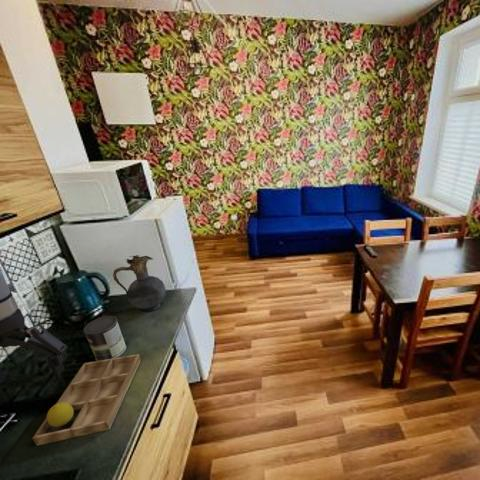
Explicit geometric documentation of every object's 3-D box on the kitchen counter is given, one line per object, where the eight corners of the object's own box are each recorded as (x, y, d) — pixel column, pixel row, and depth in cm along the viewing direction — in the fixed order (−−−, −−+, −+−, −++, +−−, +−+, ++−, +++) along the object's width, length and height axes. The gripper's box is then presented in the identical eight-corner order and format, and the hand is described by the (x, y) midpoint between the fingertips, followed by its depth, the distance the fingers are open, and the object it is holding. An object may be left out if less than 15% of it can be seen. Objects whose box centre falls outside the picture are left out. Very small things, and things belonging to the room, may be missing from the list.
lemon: (76, 425, 80) (66, 407, 77) (51, 436, 77) (40, 418, 74) (78, 410, 84) (69, 393, 81) (55, 420, 81) (44, 402, 78)
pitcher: (167, 310, 132) (153, 256, 121) (122, 319, 126) (102, 263, 114) (170, 298, 142) (157, 247, 130) (128, 306, 135) (110, 253, 124)
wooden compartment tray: (36, 445, 76) (32, 438, 75) (86, 369, 100) (83, 363, 98) (109, 429, 80) (106, 422, 79) (140, 360, 104) (138, 353, 103)
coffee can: (96, 366, 101) (84, 338, 96) (94, 351, 108) (82, 323, 102) (128, 352, 107) (118, 324, 102) (124, 338, 114) (114, 312, 109)
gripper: (66, 300, 72) (90, 358, 80) (-53, 312, 66) (-14, 374, 74) (48, 318, 65) (76, 379, 74) (-87, 333, 60) (-40, 398, 68)
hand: (31, 377), depth 74 cm, fingers open, 13 cm apart
